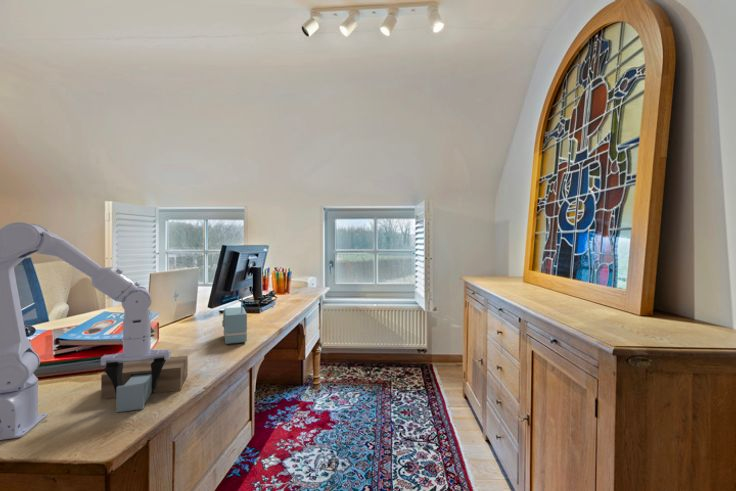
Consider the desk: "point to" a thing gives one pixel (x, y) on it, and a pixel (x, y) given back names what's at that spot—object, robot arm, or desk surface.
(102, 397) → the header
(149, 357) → the robot arm
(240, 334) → the grey banded block
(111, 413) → the desk surface
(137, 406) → the grey-blue rectangular bar
